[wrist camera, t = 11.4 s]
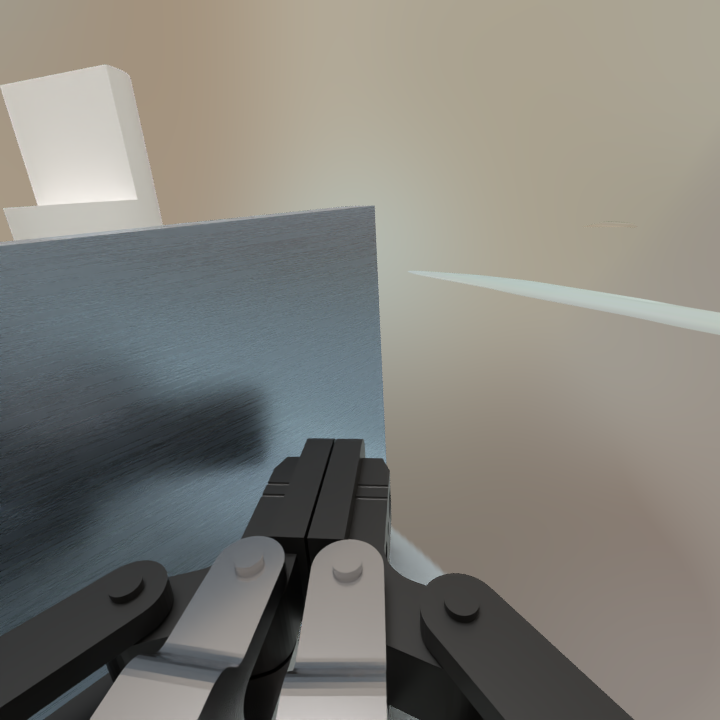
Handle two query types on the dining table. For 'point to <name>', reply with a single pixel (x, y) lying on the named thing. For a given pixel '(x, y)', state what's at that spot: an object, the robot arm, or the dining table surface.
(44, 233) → the white l-shaped bracket
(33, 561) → the dough scraper
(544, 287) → the dining table surface
